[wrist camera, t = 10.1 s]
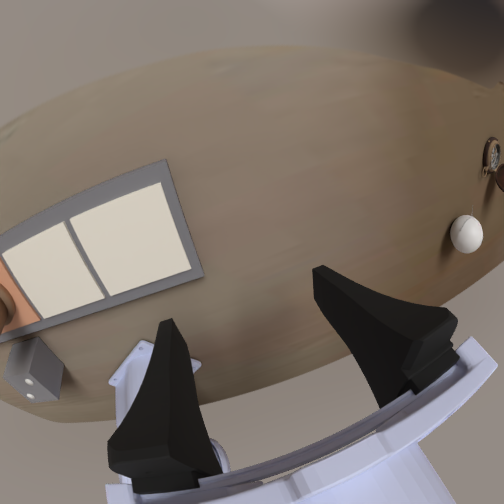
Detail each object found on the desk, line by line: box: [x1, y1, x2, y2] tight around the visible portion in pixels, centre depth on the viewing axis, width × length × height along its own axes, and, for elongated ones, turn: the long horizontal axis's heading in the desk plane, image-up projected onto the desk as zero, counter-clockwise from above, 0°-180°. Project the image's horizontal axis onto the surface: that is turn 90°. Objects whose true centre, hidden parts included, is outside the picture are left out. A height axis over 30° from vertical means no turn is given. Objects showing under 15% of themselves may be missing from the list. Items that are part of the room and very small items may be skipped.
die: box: [3, 337, 64, 403], centre depth 20 cm, size 5×5×5 cm
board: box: [0, 159, 204, 343], centre depth 18 cm, size 33×10×1 cm, turn 102°
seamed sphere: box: [450, 206, 483, 253], centre depth 30 cm, size 8×6×6 cm
